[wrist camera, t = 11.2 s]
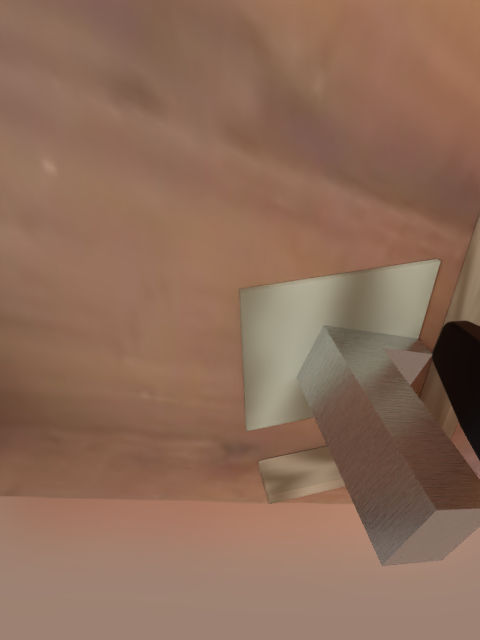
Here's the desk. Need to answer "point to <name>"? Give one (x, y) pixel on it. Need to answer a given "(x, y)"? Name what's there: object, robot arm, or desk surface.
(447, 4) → the desk surface
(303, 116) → the desk surface
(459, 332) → the robot arm
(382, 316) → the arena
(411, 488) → the block
